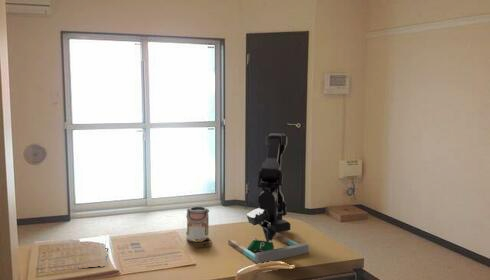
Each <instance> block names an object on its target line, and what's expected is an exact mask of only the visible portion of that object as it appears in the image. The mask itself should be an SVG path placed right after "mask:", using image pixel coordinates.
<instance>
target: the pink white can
mask: <svg viewBox="0 0 490 280" xmlns="http://www.w3.org/2000/svg"><path fill="white" fill-rule="evenodd" d="M209 212H210V209H209V208H207V207H204V206H192V207H188V208H187V209H186V224H187V225H186V229H187V231H186V238H187V240H188V241H189V242H191V241H192V240H193V239H204V238H207V237H208V238H209V217H210V216H209Z"/></svg>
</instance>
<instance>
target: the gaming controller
mask: <svg viewBox="0 0 490 280" xmlns="http://www.w3.org/2000/svg"><path fill="white" fill-rule="evenodd" d="M246 249H248V250H249V251H251V252H252V253H254V251H257V252H263V251H268V250H273V249H275V246H274V243H273V240H272V241H271V240H269V242H267V241H266V240H258V238H256V237H254V238H253V240H252V242H250V243H249V245H248V246H247V248H246Z"/></svg>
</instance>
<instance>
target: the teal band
mask: <svg viewBox="0 0 490 280" xmlns="http://www.w3.org/2000/svg"><path fill="white" fill-rule="evenodd" d="M297 244H299V242H296V241H294V240H292V239H291V240H289V241H288V244H287V246H288V245H289V246H292V245H297ZM242 254H243V255H244V256H246V257H247V258H248V259H250V260H252V261H253V262H255V253H254V252H251V251H249V250H248V249H247V248H246V249H243V253H242Z"/></svg>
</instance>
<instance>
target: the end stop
mask: <svg viewBox="0 0 490 280" xmlns="http://www.w3.org/2000/svg"><path fill="white" fill-rule="evenodd" d="M254 254H255V261H254V262H255V263H256V264H257V263H260V262H264V263H267V262H266V261H269V262H272V261H277V260H283V259H285V258H291V257H295V256H299V255H304V254H309V244H308V243H306V242H303V243H298V244H297V245H292V246H290V245H289V246H288V245H287V246H283V247H278V248H274V249H273V250H268V251H257V252H255V253H254ZM260 264H261V263H260Z"/></svg>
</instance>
